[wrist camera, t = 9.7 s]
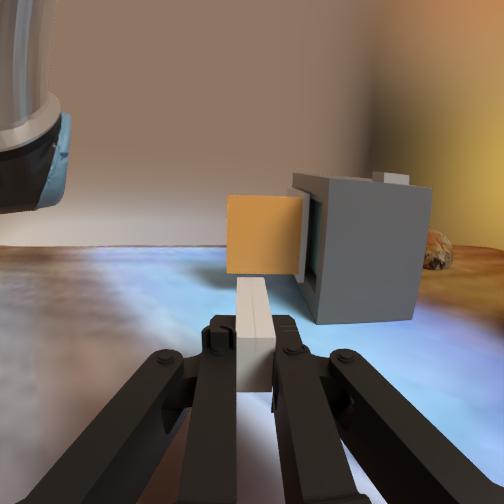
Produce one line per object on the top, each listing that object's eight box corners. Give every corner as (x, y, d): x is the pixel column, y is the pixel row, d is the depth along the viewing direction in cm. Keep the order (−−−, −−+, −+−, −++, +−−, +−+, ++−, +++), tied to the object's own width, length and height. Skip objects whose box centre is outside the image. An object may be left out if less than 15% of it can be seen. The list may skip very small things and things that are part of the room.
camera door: (226, 281, 35) (227, 191, 33) (230, 253, 47) (231, 184, 44) (303, 282, 36) (309, 194, 33) (288, 254, 47) (292, 186, 45)
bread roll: (447, 280, 53) (452, 241, 54) (453, 272, 44) (459, 226, 45) (401, 272, 58) (407, 233, 59) (399, 262, 49) (407, 217, 50)
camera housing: (316, 324, 30) (330, 166, 26) (287, 260, 51) (291, 166, 47) (411, 319, 30) (433, 178, 27) (351, 261, 51) (358, 171, 47)
